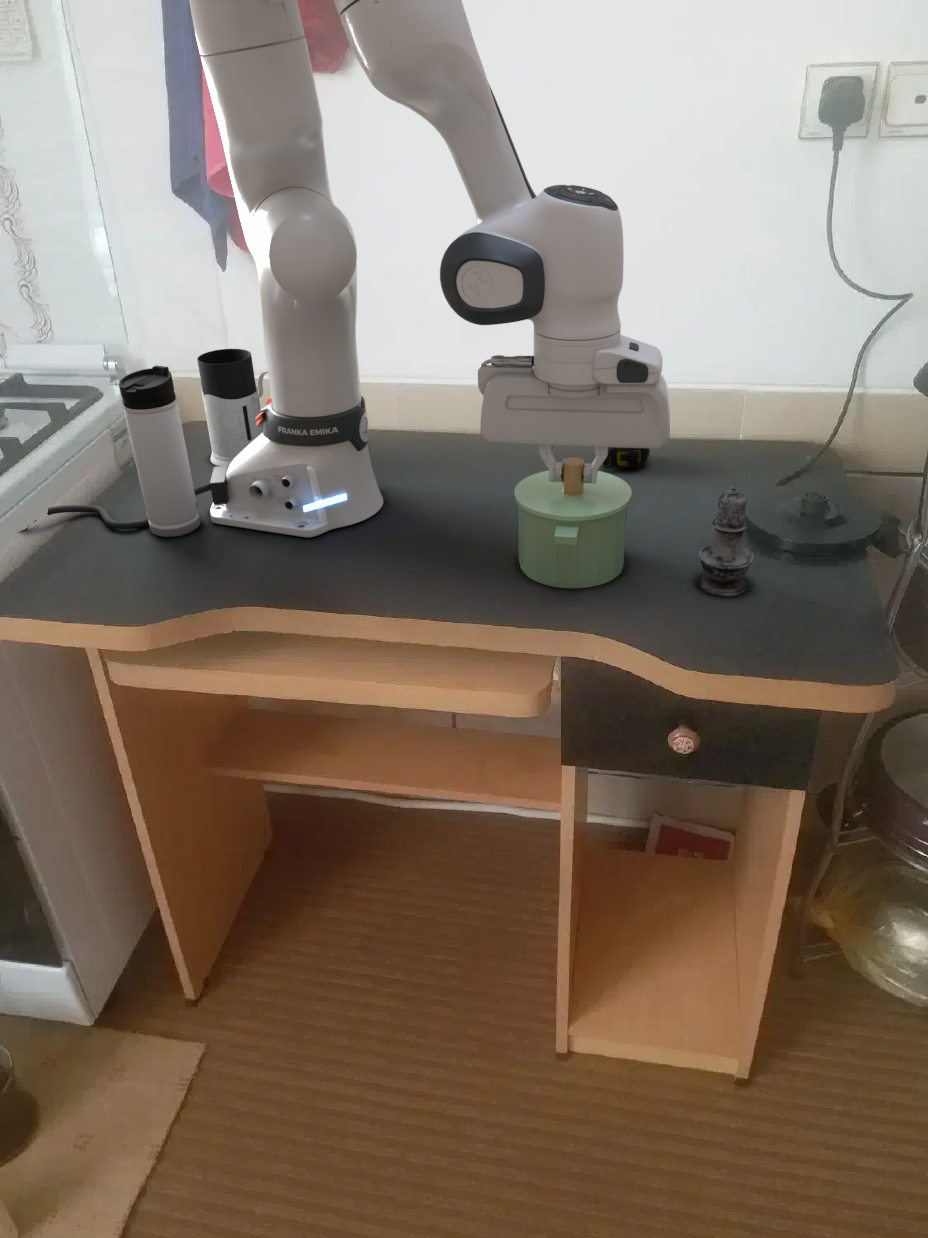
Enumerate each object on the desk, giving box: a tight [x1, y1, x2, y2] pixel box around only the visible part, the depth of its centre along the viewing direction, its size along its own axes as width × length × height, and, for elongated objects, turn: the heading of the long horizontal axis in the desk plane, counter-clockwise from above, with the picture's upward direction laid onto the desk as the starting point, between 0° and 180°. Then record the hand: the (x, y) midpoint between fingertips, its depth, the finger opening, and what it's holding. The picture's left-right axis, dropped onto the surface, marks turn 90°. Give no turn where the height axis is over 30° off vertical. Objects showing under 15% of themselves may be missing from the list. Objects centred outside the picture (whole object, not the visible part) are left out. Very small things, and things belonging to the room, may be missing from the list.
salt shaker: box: [697, 483, 755, 597], centre depth 106 cm, size 6×6×12 cm
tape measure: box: [602, 447, 651, 469], centre depth 138 cm, size 7×7×4 cm
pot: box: [517, 504, 628, 589], centre depth 112 cm, size 12×17×8 cm
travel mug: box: [118, 365, 201, 538], centre depth 121 cm, size 6×7×20 cm
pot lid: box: [513, 456, 633, 521], centre depth 109 cm, size 13×13×5 cm
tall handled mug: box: [196, 348, 268, 467], centre depth 142 cm, size 9×14×15 cm, turn 65°
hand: (573, 480), depth 109 cm, fingers closed on pot lid, 2 cm apart
